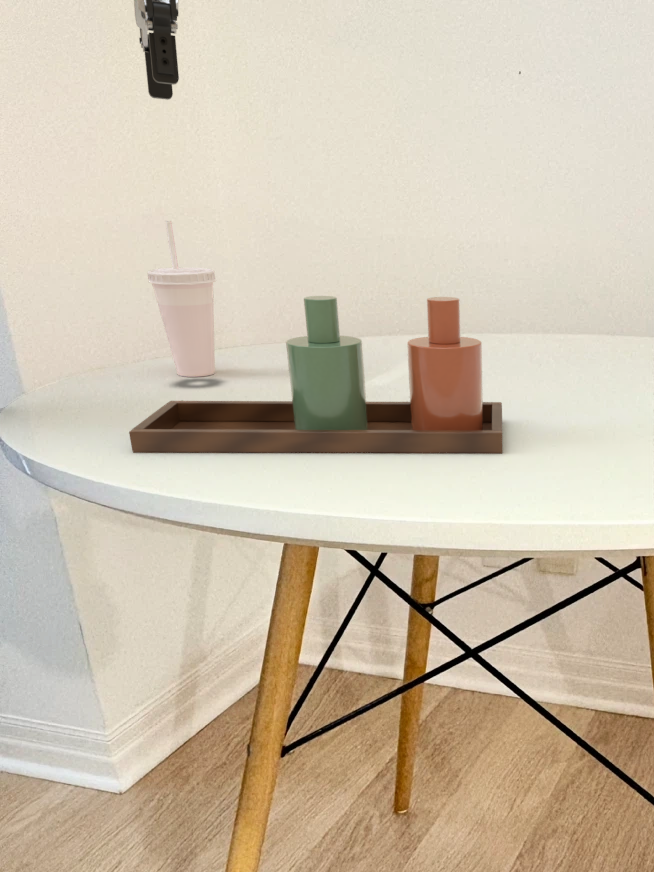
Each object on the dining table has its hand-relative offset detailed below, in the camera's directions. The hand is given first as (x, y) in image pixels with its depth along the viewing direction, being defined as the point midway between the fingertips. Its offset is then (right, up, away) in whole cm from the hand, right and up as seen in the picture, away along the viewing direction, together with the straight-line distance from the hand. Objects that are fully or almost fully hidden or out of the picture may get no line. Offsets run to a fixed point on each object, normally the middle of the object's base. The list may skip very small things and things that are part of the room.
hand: (163, 91), depth 94 cm
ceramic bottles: (+24, -37, -16) cm, 47 cm away
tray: (+19, -38, -16) cm, 45 cm away
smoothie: (0, -24, +8) cm, 25 cm away
